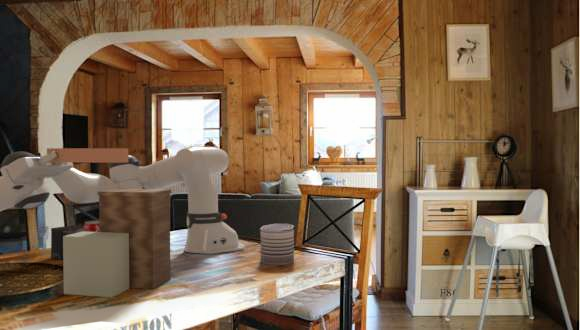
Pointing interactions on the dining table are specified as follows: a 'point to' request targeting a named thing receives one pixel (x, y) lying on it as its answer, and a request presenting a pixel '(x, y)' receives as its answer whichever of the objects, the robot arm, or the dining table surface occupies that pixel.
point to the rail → (90, 155)
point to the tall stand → (140, 231)
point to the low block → (96, 263)
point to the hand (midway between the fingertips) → (62, 153)
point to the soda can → (91, 226)
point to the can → (277, 244)
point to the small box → (61, 239)
